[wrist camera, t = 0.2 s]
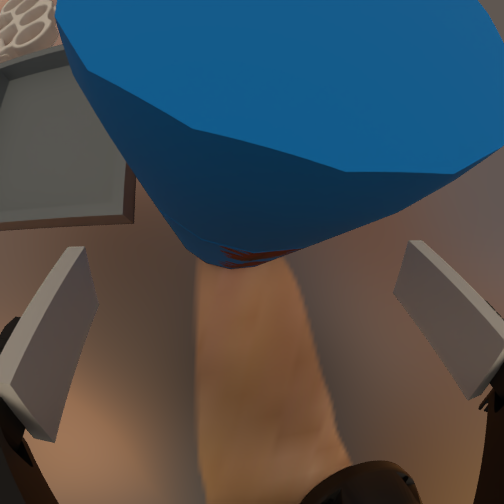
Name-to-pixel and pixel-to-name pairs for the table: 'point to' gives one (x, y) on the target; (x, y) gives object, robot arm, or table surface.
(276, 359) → the table surface
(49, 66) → the tray
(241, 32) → the thermos
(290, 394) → the table surface
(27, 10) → the white brass knuckles
